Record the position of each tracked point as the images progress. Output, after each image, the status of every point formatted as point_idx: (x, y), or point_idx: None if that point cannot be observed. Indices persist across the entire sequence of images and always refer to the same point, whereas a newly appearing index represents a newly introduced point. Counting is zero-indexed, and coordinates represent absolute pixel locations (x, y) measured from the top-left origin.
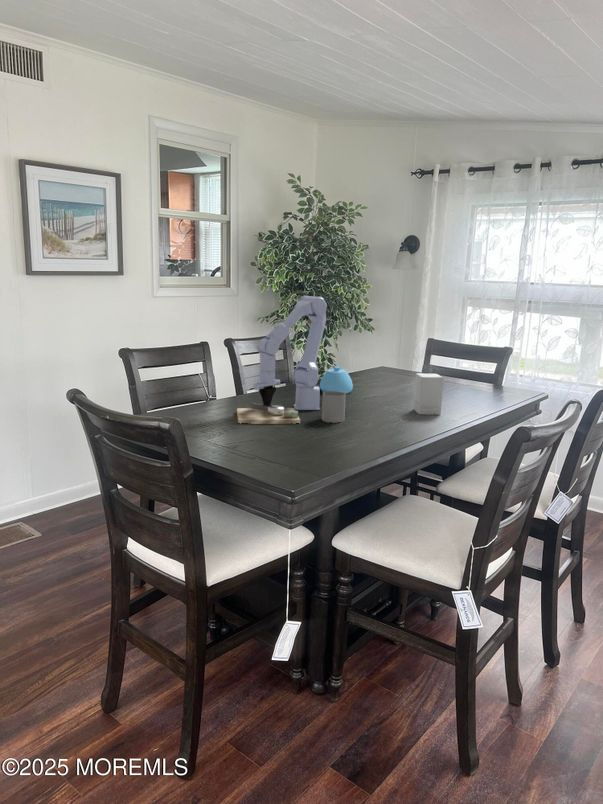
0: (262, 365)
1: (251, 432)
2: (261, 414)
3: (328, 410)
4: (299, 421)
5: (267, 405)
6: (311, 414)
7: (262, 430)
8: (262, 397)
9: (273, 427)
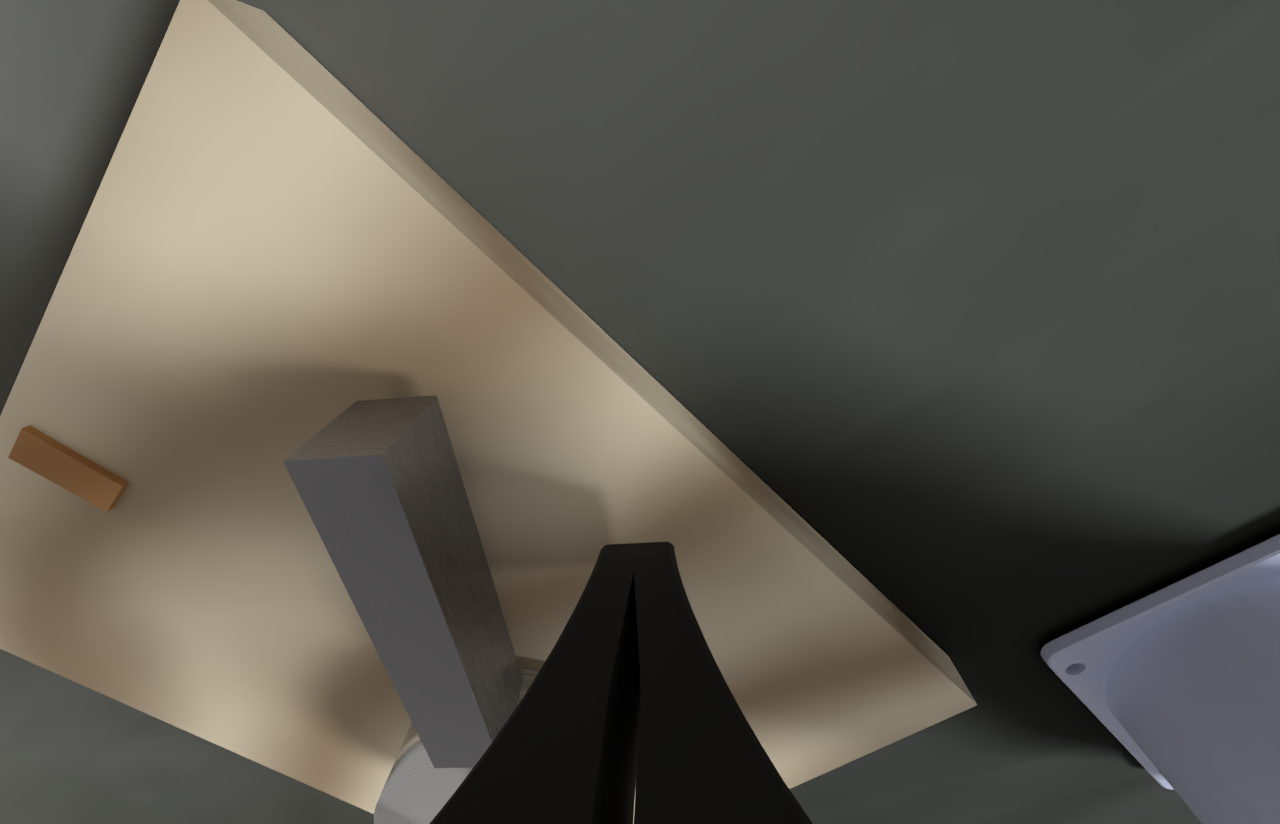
0: None
1: (28, 766)
2: (361, 636)
3: None
4: None
5: (469, 739)
6: (923, 789)
7: (152, 785)
8: (534, 707)
9: (291, 792)
